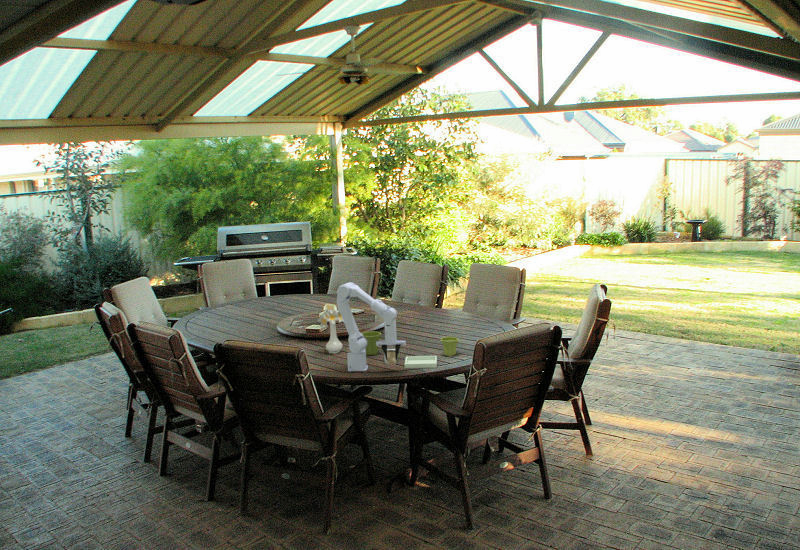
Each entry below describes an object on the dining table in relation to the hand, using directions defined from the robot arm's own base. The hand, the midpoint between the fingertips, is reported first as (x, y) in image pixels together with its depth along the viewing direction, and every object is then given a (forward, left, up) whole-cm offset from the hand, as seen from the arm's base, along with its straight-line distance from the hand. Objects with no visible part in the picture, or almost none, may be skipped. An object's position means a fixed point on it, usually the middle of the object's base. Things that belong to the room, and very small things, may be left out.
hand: (391, 359), depth 310 cm
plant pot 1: (-14, +33, -6) cm, 36 cm away
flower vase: (-35, +37, -6) cm, 51 cm away
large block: (-2, +17, -6) cm, 18 cm away
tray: (+14, +10, -6) cm, 18 cm away
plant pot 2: (+29, +27, -6) cm, 40 cm away
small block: (0, 0, -2) cm, 2 cm away
